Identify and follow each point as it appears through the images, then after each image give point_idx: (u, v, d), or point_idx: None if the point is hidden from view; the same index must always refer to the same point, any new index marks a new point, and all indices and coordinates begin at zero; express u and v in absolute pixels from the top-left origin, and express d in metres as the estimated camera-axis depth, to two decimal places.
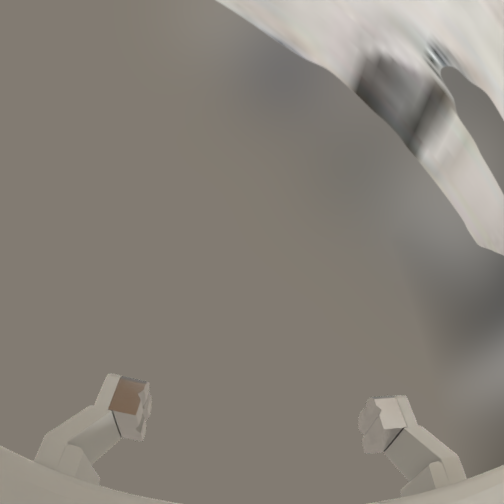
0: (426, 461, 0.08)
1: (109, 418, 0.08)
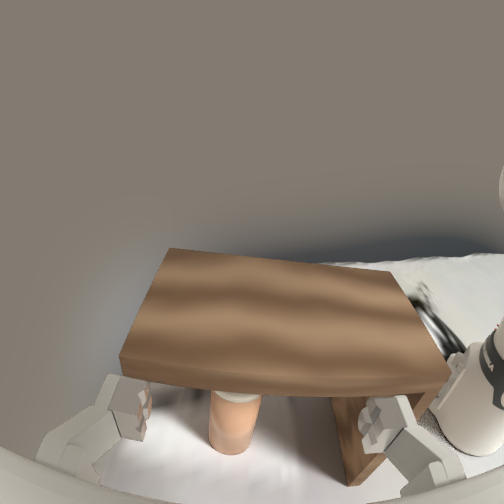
0: (426, 461, 0.08)
1: (109, 418, 0.08)
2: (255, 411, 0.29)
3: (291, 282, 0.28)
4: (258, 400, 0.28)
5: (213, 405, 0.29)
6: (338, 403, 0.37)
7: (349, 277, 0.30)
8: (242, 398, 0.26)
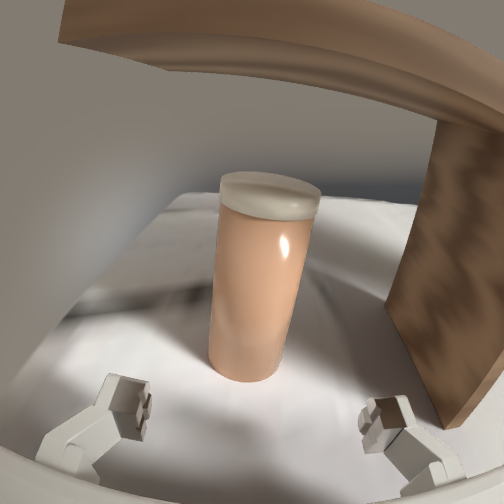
0: (426, 461, 0.08)
1: (109, 418, 0.08)
2: (299, 264, 0.17)
3: None
4: (306, 232, 0.16)
5: (221, 253, 0.17)
6: (405, 307, 0.25)
7: None
8: (281, 206, 0.14)
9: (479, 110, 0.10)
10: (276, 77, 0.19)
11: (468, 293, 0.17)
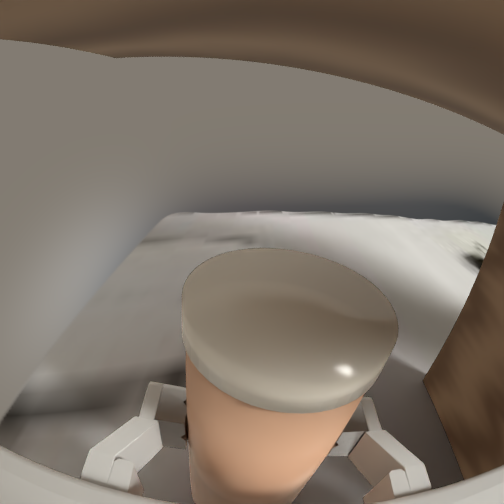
0: (389, 468, 0.08)
1: (155, 428, 0.09)
2: (338, 436, 0.08)
3: None
4: (362, 397, 0.07)
5: (193, 421, 0.08)
6: (454, 394, 0.17)
7: None
8: (324, 391, 0.05)
9: None
10: (296, 60, 0.10)
11: None
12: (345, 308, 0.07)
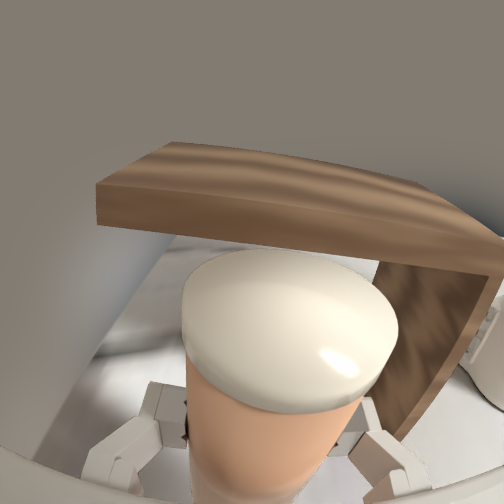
0: (389, 467, 0.08)
1: (155, 428, 0.09)
2: (338, 436, 0.08)
3: (312, 167, 0.24)
4: (362, 397, 0.07)
5: (194, 422, 0.08)
6: None
7: (374, 175, 0.26)
8: (324, 392, 0.05)
9: None
10: None
11: (403, 351, 0.24)
12: (345, 309, 0.07)
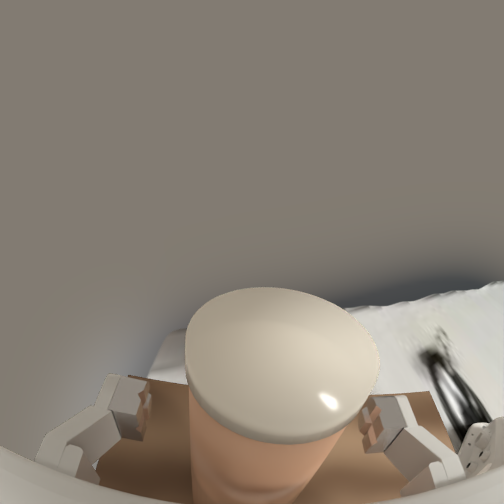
0: (426, 461, 0.08)
1: (109, 418, 0.08)
2: (326, 456, 0.09)
3: None
4: None
5: (196, 443, 0.09)
6: None
7: None
8: (308, 428, 0.06)
9: None
10: None
11: None
12: (332, 350, 0.08)
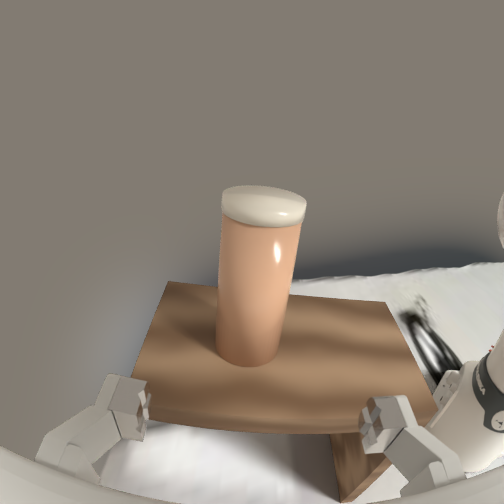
0: (426, 461, 0.08)
1: (109, 418, 0.08)
2: (289, 263, 0.20)
3: (287, 318, 0.29)
4: (294, 236, 0.19)
5: (224, 255, 0.20)
6: None
7: (343, 310, 0.31)
8: (271, 215, 0.18)
9: None
10: None
11: (357, 441, 0.29)
12: (284, 199, 0.20)
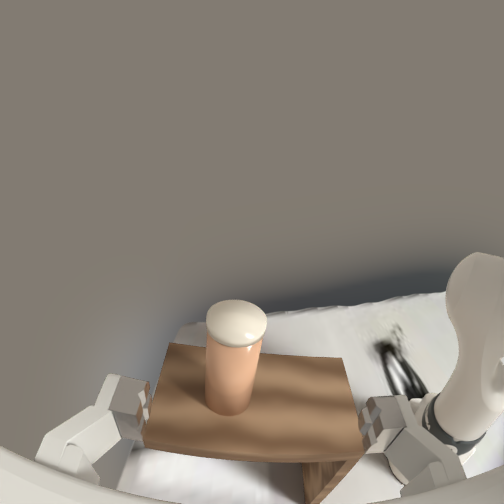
0: (426, 461, 0.08)
1: (109, 418, 0.08)
2: (252, 362, 0.28)
3: (259, 375, 0.37)
4: (255, 348, 0.27)
5: (208, 353, 0.28)
6: None
7: (305, 367, 0.39)
8: (237, 341, 0.26)
9: None
10: None
11: (317, 462, 0.38)
12: (250, 322, 0.27)
